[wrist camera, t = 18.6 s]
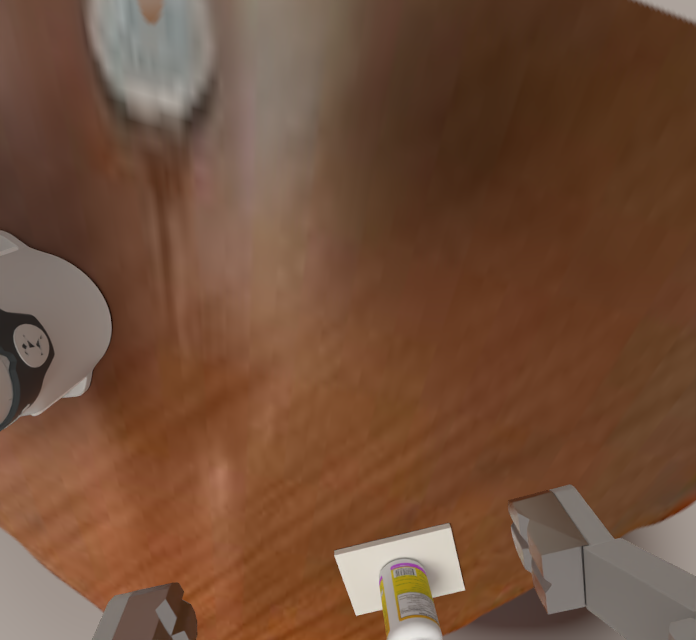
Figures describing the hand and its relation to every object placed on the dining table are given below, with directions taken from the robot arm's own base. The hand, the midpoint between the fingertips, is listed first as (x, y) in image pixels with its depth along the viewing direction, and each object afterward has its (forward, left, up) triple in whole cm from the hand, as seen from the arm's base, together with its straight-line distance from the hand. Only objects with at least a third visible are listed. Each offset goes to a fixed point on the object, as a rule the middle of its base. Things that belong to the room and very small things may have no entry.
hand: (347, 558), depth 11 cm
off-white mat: (-2, -47, -39) cm, 61 cm away
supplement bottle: (-2, -47, -38) cm, 60 cm away
